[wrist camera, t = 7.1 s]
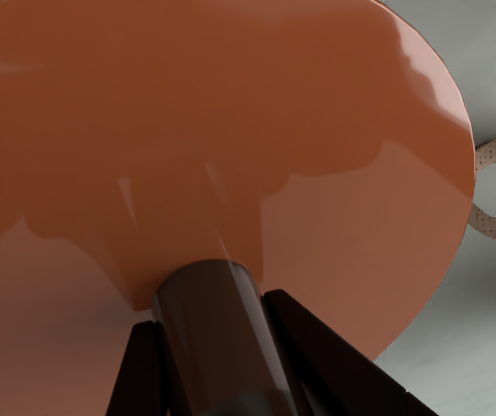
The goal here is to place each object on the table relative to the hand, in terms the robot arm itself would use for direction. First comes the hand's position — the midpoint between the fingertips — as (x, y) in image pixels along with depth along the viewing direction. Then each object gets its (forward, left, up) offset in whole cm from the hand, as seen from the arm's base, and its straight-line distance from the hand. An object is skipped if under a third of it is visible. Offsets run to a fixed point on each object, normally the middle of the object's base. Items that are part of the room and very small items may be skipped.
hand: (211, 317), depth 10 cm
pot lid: (0, 0, -1) cm, 1 cm away
